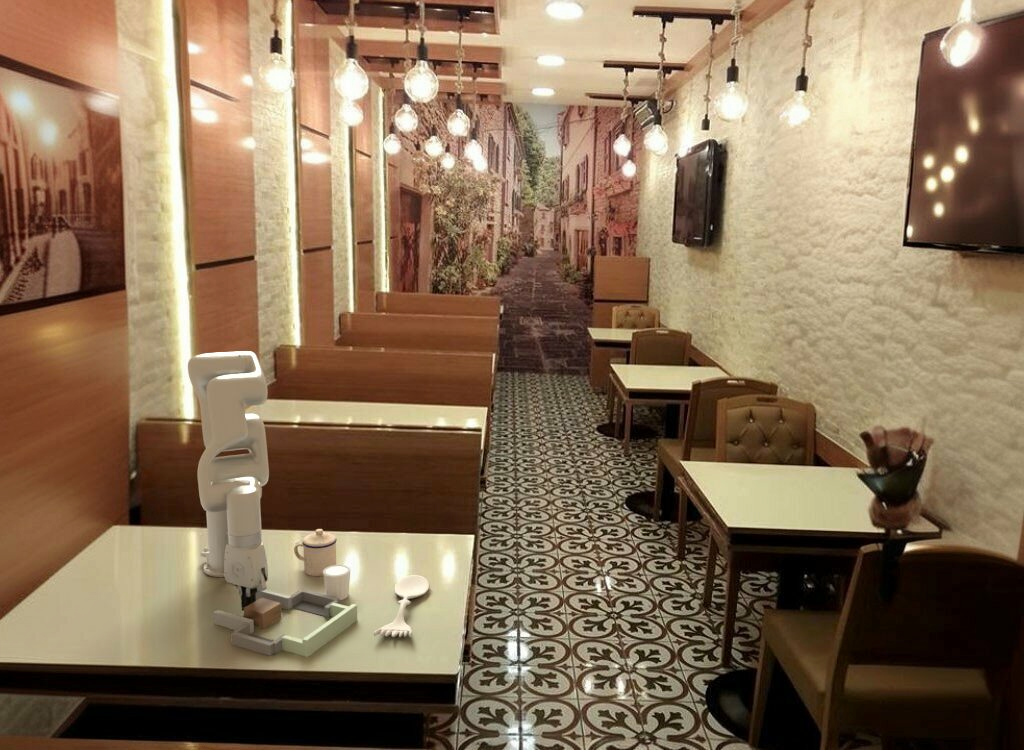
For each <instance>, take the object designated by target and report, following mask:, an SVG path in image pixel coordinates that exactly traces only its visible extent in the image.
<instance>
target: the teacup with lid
mask: <svg viewBox="0 0 1024 750" xmlns="http://www.w3.org/2000/svg"><path fill="white" fill-rule="evenodd" d="M302 539H303V540H302V542H299V543H297V544H295V546H294V547H293V552H294V554H295V557H296V558H297V559H298V560H299V561H301V562H303V571H304V572H305V574H306V575H309V576H313V577H324V576H323V570H324V569H325V568H327V567H329V566H333V565H337V544H336V542H337V537H336V535H334V533H333V534H332V533H330V532H325V531H324V530H323V529H322V528H317V529H315V532H313V533H311V534H307V535H306V536H304V538H302ZM299 547H303V548H302V549H303V556H302V555H301V554H300V552H299V550H298V548H299Z"/></svg>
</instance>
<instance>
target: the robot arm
mask: <svg viewBox="0 0 1024 750" xmlns="http://www.w3.org/2000/svg"><path fill="white" fill-rule="evenodd" d="M187 373H188V378H189V381H190V384H191V386H192V388H193V390H194V392H195V394H196V396H197V399H198V401H199V407H200V418H201V419H200V420H201V429H202V438H203V439H202V440H203V444H204V447H205V449H204V451H203V453H202V455H201V457H200V459H199V461H198V465H197V466H198V467H197V483H198V492H199V493H198V494H199V499H200V505H201V506H202V508H203V510H204V511H206V512H205V514H206V515H205V516H206V529H207V530H206V531H207V544H208V545H207V546H205V547H204V548H203V551H202V552H200V557H202V558H205V559H206V563H205V564H204V565H203V572H204V574H205V575H207V576H210V577H214V578H215V577H216V578H224V580H225V581H226V582H227V583H230V584H232V585H234V586H235V588H236V589H237V592H238V595H239V596H240V603H241V605H240V607H241V611H242V612H244V607H246V606H248V605H250V604H252V603H253V602H255V601H256V594H255V593H257V592H258V591H263V590H267V584H266V582H267V581H268V579H269V567H268V559H267V553H266V549H265V545H264V543H263V539H262V538H263V537H262V535H263V534H262V516H261V514H262V513H261V498H262V495H263V494H262V493H263V491H262V490H263V488H262V487H264V486H265V485H266V484H267V483H268V481H269V478H270V477H269V476H270V469H269V468H270V467H269V459H268V458H269V457H268V444H267V436H266V428H265V424H264V421H263V418H262V417H261V416H259V415H258V414H255V413H246V407H250V406H252V407H253V406H261V405H264V404H265V403H266V401H267V399H268V395H269V393H268V384H267V380H266V376H265V373H264V371H263V368H262V365H261V363H260V361H259V358H258V356H257V354H256V353H255V352H253V351H248V350H244V351H243V350H241V351H225V352H223V351H221V352H220V351H219V352H207V353H201V354H196V355H194V356H192V357H191V358H190V359H189V360H188V363H187ZM237 450H238V451H239V450H248V452H249V453H242V454H236V455H235V454H233V455H232V454H231V455H226V456H218V455H219V454H220V453H221V452H230V451H237Z"/></svg>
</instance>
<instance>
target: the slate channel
mask: <svg viewBox="0 0 1024 750" xmlns="http://www.w3.org/2000/svg"><path fill="white" fill-rule="evenodd" d="M255 594H256V601H257V600H259V599H260V598H265V599H268V600H272V601H275V602H279V603H281V609H286V610H291V609H293V608H292V596H291V595H288V594H284V593H279V592H276V591H272V590H269V589H265V590H263V591H258V592H257V593H255ZM330 612H331V616H330V617H331V618H330V619H329V620H328V621H326V622H325V623H323V624H322V625H320V626H319V627H317V628H316V629H315V630H314V631H312V632H310V633H309V634H308V635H306V636H304V637H303V638H302V639H301V638H297V637H294V636H290V635H288V634H285V636H283V637H282V650H281V651H286V652H289V653H293V654H296V655H299V656H301V657H306V658H308V657H309V656H311V655H313V654H314V653H315V652H316V651H318V650H319V649H321V648H323V646H324V645H326V644H328V643H329V642H330V641H332V640H333V639H334V638H335V637H337V636H338V635H340V634H341V633H342V632H343V631H345V630H346V629H348V628H349V627H350V626H351V625H352V624H355V623H356V622H357V621H358V605H357V604H356V603H355V604H354V603H352V604H350V605H349V606H348V605H344V604H337V603H332V604H330ZM213 618H214V620H213V621H214V625H218V626H222V627H225V628H228V629H231V630H233V631H234V630H235V629H237V628H239V627H240V626H242V625H244V624H245V623H247V624H250V634H254V631H255V629H254V628H255V626H254V624H253V620H252V619H248V618H245V617H244V616H241V615H237V614H234V613H230V612H227V611H223V610H219V609H217V610H215V611H214V612H213Z"/></svg>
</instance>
